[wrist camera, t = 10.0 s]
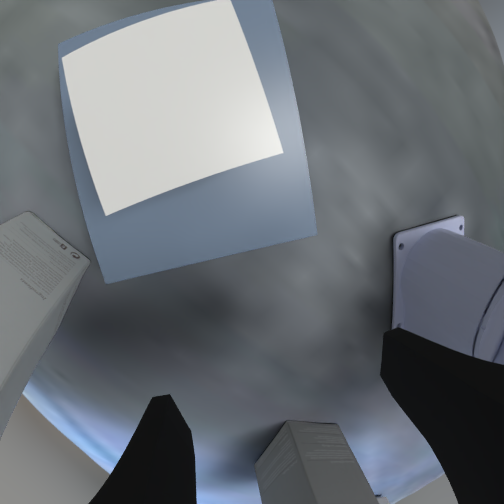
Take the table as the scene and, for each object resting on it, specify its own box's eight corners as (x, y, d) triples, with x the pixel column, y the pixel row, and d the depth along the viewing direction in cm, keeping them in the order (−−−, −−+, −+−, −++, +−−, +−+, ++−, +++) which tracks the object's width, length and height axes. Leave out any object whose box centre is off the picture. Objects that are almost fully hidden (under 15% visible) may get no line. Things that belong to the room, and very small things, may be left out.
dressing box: (293, 218, 19) (317, 234, 15) (123, 258, 17) (106, 284, 14) (256, 24, 14) (270, -5, 10) (83, 63, 13) (58, 43, 9)
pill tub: (250, 157, 13) (283, 153, 8) (141, 195, 13) (105, 216, 7) (217, 56, 11) (229, -3, 6) (110, 93, 11) (61, 57, 6)
